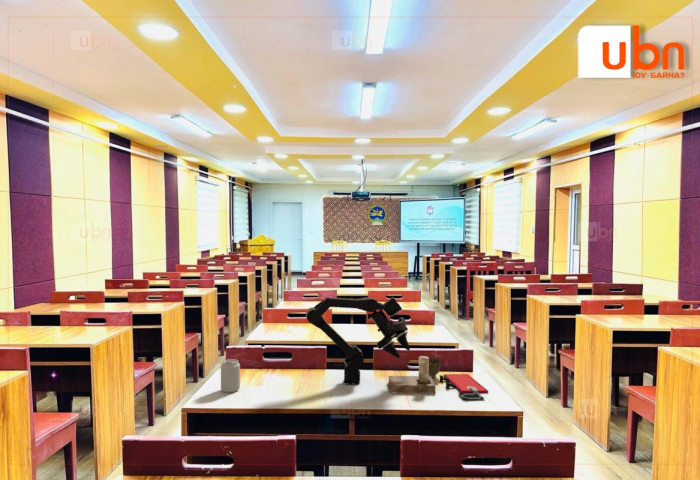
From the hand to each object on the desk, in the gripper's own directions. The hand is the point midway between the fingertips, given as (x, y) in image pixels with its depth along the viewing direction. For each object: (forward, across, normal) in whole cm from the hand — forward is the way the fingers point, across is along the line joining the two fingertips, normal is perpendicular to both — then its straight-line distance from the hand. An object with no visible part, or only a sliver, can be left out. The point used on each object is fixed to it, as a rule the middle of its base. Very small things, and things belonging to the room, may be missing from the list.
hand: (404, 353), depth 187 cm
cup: (+16, +14, +5) cm, 22 cm away
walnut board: (+13, -3, +5) cm, 14 cm away
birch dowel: (+16, -2, +1) cm, 16 cm away
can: (-28, -48, +48) cm, 73 cm away
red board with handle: (+26, +10, -8) cm, 28 cm away
